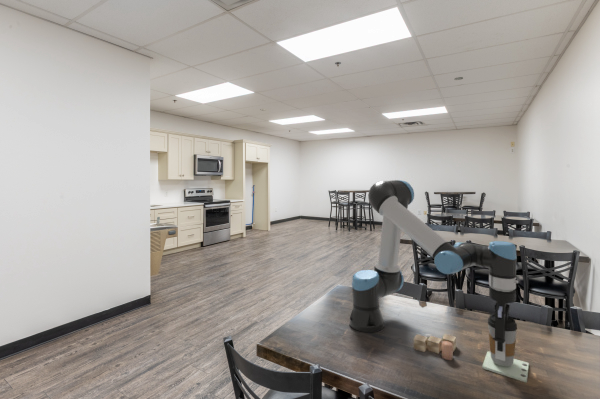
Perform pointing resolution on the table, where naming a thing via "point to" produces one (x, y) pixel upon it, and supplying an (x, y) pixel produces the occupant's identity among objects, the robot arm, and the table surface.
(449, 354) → the pink rounded piece
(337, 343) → the table surface
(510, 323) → the coffee cup
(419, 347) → the maple cube
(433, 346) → the maple cube
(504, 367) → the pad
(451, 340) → the maple cube
